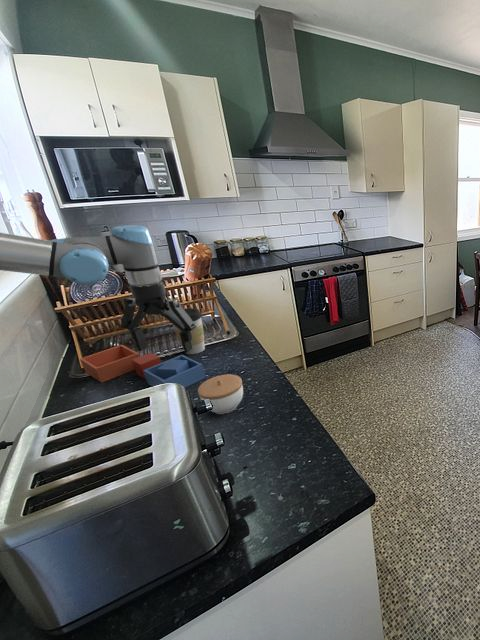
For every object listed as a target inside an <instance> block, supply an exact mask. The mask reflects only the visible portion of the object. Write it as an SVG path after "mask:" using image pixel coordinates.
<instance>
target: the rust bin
mask: <svg viewBox="0 0 480 640" xmlns="http://www.w3.org/2000/svg"><path fill="white" fill-rule="evenodd" d="M140 356H141V355H140V353H139V352H137V351H135V350H133V349H131V348H129V347H128V346H126V345H123V344H119V345H117V346H114V347H111V348H107V349H105V350H102V351H99V352H95V353H93V354H90V355H89V354H88V355H87V356H84V357H81V358H79V361H80V363H81V366H82V367H83V370H84V372H85V373H86V374H87V375H89V376H90V377H92V378H94V379H95V380H97V381H98V382H99V383H105V382H107V381H110V380H112V379H115V378H118V377H121V376H122V375H125V374H128V373H130V372H133V371H136V370H135V368H134V365H133V362H132V359H135V358H138V357H140Z"/></svg>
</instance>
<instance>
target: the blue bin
mask: <svg viewBox="0 0 480 640" xmlns="http://www.w3.org/2000/svg"><path fill="white" fill-rule="evenodd" d="M169 360H187V363H188V366H189V369H188V370H186V371H183V372H181V373H179V374H177V375H174V376H172V377H170V378H168V379H165V380H163V379H162V378H160V375H159V372H158V368H159V367H161V366H162V365H163V364H165V363H166V362H167V361H168V360H165V361H162V362H161V363H160V364H158V365H155V366H153V367H150V368H148V369H146V370H143V372H144V374H145V377H146V379H145V380H146V382H147V385H148V386H150V387H152V386H155V385H159V384H164V383H179V384H182V385H183V386H184V387H185V388H187V387H189V386H192V385H194V384H196V383H197V382H200V381H202V380H204V379H206V378H207V377H206V373H205V370H204V366H203V363H200V362H198V361H196V360H194V359H192V358H189V356H186V355H184V354H179V355H178V356H175V357H173V358H170V359H169Z"/></svg>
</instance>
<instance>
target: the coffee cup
mask: <svg viewBox="0 0 480 640" xmlns="http://www.w3.org/2000/svg"><path fill="white" fill-rule="evenodd" d="M183 309H184V310H185V312H186V313H187V314H188V315H189V317H190V318H191V319H192V320H193V322H194V323H195V324H196V328H194V329H193V330H191V335H192V340H191V344H192V349H191V350H190V351H188V352H184V353H185V354H186V355H195V354H199V353H200V354H201V353H202V352H203V351H205V349H206V345H205V334H204V326H203V325H204V323H203V321H202V317H203V314H202V312H201V311H200V310H199V309H198V308H193V307H189V308H183ZM171 325H172V327H173V330H174V332H175V335H176V337H177V339H178V342H179V343H180V345H181V346H182V347H183V344H182V341H181V337H180V332H182V331H181V330H179V329H178V328H177V327H176V326H175V325H174V324H172V323H171ZM184 328H185V327H184Z"/></svg>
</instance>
